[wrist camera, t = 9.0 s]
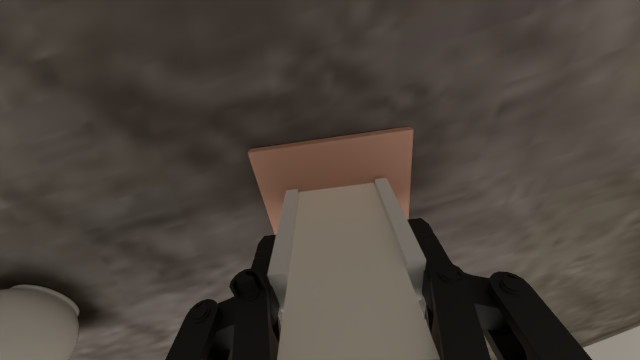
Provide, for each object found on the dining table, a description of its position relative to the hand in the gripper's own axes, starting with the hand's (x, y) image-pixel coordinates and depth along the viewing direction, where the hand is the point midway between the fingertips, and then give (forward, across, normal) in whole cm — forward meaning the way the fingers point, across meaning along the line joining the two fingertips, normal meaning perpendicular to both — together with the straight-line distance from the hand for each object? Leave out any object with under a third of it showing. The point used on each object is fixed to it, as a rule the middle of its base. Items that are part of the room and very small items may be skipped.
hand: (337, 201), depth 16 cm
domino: (0, 0, 0) cm, 0 cm away
